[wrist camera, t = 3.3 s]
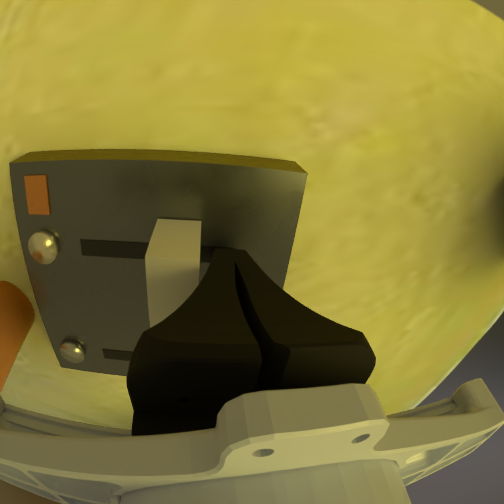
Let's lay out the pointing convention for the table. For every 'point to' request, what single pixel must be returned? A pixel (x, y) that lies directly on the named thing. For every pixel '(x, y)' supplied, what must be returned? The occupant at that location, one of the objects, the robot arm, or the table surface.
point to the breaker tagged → (171, 266)
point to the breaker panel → (137, 233)
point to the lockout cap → (12, 325)
